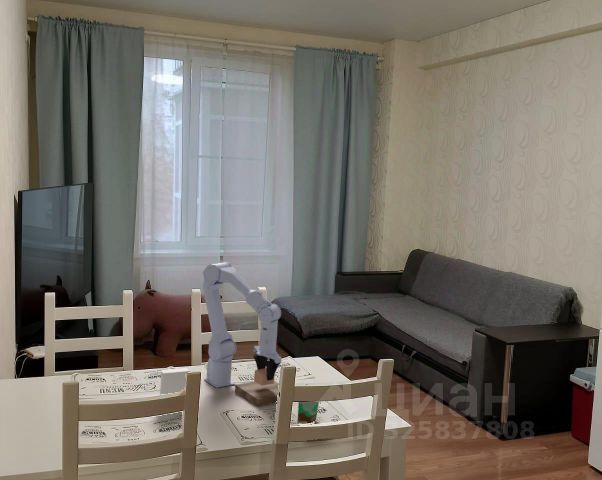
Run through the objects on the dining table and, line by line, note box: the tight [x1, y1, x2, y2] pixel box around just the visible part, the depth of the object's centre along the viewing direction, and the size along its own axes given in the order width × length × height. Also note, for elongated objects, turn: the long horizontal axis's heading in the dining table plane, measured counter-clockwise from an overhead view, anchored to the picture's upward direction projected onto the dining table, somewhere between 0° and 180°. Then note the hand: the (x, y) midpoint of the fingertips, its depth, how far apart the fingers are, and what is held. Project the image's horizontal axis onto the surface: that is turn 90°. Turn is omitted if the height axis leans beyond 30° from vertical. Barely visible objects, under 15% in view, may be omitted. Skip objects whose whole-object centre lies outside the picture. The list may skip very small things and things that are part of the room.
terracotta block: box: [253, 368, 276, 386], centre depth 212 cm, size 5×5×4 cm
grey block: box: [159, 367, 191, 396], centre depth 198 cm, size 9×9×12 cm
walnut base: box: [234, 380, 280, 407], centre depth 213 cm, size 15×15×2 cm
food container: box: [296, 384, 320, 423], centre depth 194 cm, size 12×6×10 cm, turn 168°
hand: (265, 377), depth 213 cm, fingers closed on terracotta block, 5 cm apart
